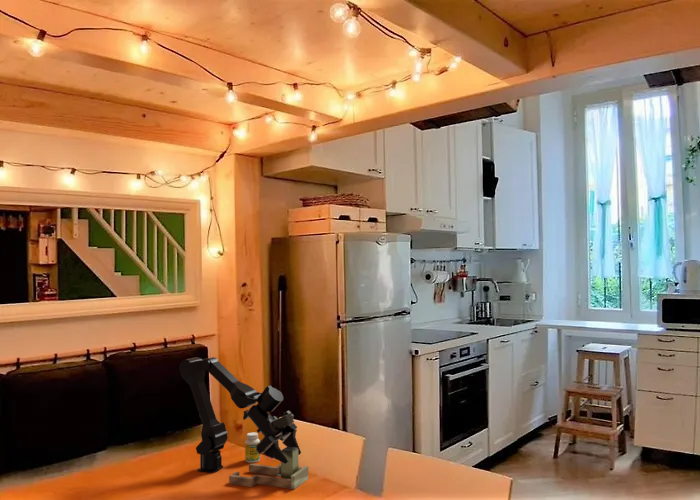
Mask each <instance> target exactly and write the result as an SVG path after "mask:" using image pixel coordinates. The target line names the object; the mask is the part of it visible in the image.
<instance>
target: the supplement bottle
mask: <svg viewBox="0 0 700 500" xmlns="http://www.w3.org/2000/svg"><path fill="white" fill-rule="evenodd" d="M260 441H261V440H260V439H259V433H258V432H254V431H253V432H248V433H246V440H245V442H244V446H245V447H244V453H245V454H244V455H245V456H244V457H245V458H244V459H245V462H246V463H249V464H255V463H257V462H260V460H261V454H259V453H258V452H257V450H256V445H257V444H258V443H259V442H260Z"/></svg>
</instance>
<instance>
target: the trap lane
mask: <svg viewBox="0 0 700 500" xmlns="http://www.w3.org/2000/svg"><path fill="white" fill-rule="evenodd" d="M248 472H249V473H254V475H252V476H251V477H250V476H242V475H240V471H235V472H234V473H232V474H230V475H229V476H228V484H229V485H236V486H242V487H248V488H252V487H254V486H256V485H262V486H269V487H275V488H284V489H290V490H296V489H297V488H298V487H300V486H301V485H302V484H303V483H305V482H306V481H307V480H309V466H308V465H304V466H303V467H302V466H299V471H297V472H296V473H295V474H293V475H292V476H291V479H285V478H281V463H280V464H278V465H277V466H271V465H264V464H258V463H256V464H255V463H249V464H248Z"/></svg>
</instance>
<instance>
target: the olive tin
mask: <svg viewBox="0 0 700 500" xmlns="http://www.w3.org/2000/svg"><path fill="white" fill-rule="evenodd" d="M281 451H282V452H283V454H284V455H285V457H286V459H287V460H288V462H287V463H286V464H285V463H283V462H281V461H280V464H281V476H280V478H285V479H291V476H292V475H293V474H295V473H296V472H297V471H299V467H300V466H299V455H298V448H295V447H287V446H286V447H284V448H283V449H281Z"/></svg>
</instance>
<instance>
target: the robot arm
mask: <svg viewBox="0 0 700 500" xmlns="http://www.w3.org/2000/svg"><path fill="white" fill-rule="evenodd" d="M206 372H208V373H209V374H210V375H211V376H212V377H213V378H214V379H215V380H216V381H217V382H218V383H219V384H220V385H221V386H222V387H223V388H224V389H226V390H227V392H228V393H229V394H230V395H229V396H230V399H231V400H232V402H233V403H234V405H235V406H236V407H237V408H238V409H246V408H249V407H250V408H249V409H246V410H244V411H243V416H242V417H243V418H242V419H243V421H245V420H247V419H250V420H251V421H252V423H253V424H254V425H255V426H256V428H257V429H256V433H258V434H259V433H261V434H262V435H263V436H264V437H263V438H262V439H261V440H260V442H259V443H258V444H257V445H256V450H257V452H258V453H259V454H260V455H263V456H267V457H270V458H272V459H275V460H277V461H278V462H280V463H281V462H283V463H285V464H286V463H287V462H288V460H287V459H286V457H285V455H284V454H283V452H282V449H281V447H279V445H280V444H279V440H280V441H282V442H281V444H283V445H285V446H286V447H295V448H298V456H300V455H301V454H302V452H301V449H300V446H299V444H298V441H297V438H296V436H297V435H296V433H297V429H298V426H297V425H296V423H295V420H294V419H295V418H294V417H295V415H294V414H293V413H292V412H291V411H290V410H287V411H285V412H283V413H282V416H281V417H277V416H275V415H273V416H272V415H271V414H270V413H272V412H273V411H275V409H276V408H277V407H278V406H279V405H280V404H281V403H282V402H283V401H284V394H283V393H282V392H281V391H280V390H278V389H277V388H275V387H272V384H271V385H270V384H269V385H267V386H266V387H265V388H264V389H263V391H262V392H259V391H257V390H256V389H255V388H253V387H252V386H251V385H249V384H246V383H244V382H242V381H240V380H239V379H238V378H237V377H235V376H234V375H233V374H232V373H231V371H229V370H228V369H227V367H225V366H224V365H223V364H222V363H221V362H220V361H219V359H218V358H217V357H213V356H212V357H207V358H203V359H202V358H201V357H198V356H196V357H192V358H191V357H190V358H187V359H183V360H182V361H180V364H179V373H180V375H181V377H182V378H183V380H184V381H185V382H186V383H187V384H188V385H189V387H190V389H191V392H192V396H193V399H194V402H195V405H196V409H197V412H198V415H199V418H200V421H201V425H202V426H201V431H200V438H201V441H200V442H199V444H198V445H197V446H196V447H195V450H196V454H197V455H200V457H199V459H200V460H199V461H200V465H199V466H200V467H199V468H197V471H198V472H203V473H204V472H205V473H210V474H211V473H212V474H214V473H216V472H217V471H219V470H221V469H222V468H224V465H222V463H223V461H222V455H221V450H223V449H224V447H225V444H226V443H227V440H228V434H229V432H228V430H227V429H226V423H225V422H220V421H219V420H218V419H217V417H216V414H215V413H216V412H215V411H214V408H213V405H212V401H211V398H210V395H209V392H208V389H207V386H206V383H205V376H206ZM256 403H257V404H256Z"/></svg>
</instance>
